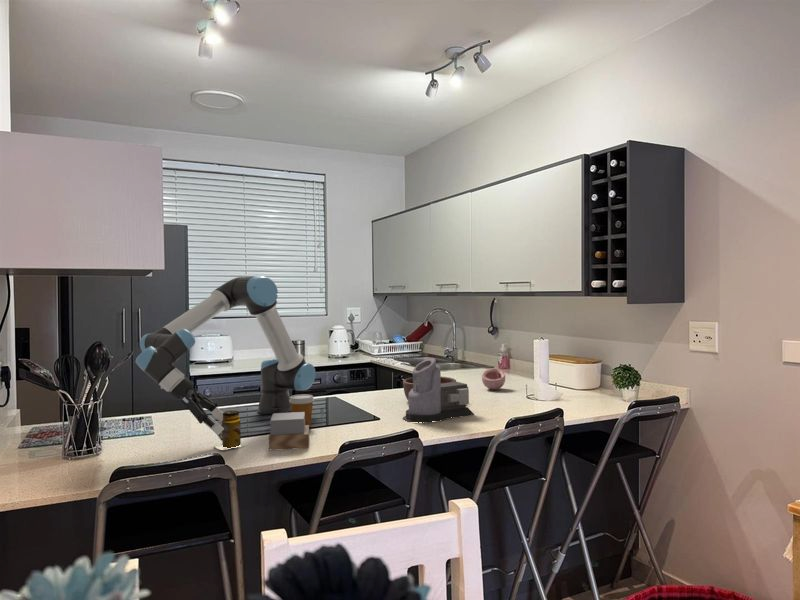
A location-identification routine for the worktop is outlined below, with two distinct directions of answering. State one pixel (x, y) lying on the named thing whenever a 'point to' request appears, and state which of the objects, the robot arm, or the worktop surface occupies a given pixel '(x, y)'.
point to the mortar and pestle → (493, 379)
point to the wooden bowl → (409, 384)
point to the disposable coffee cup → (302, 405)
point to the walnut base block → (290, 440)
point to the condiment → (231, 429)
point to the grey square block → (287, 423)
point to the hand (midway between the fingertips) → (224, 427)
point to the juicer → (435, 395)
